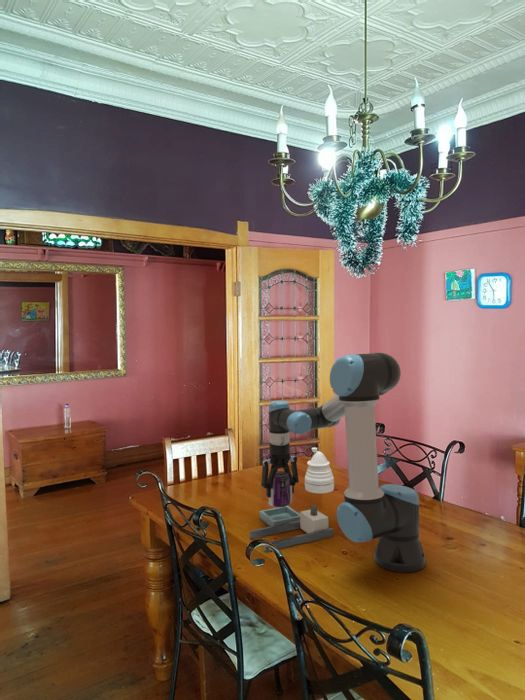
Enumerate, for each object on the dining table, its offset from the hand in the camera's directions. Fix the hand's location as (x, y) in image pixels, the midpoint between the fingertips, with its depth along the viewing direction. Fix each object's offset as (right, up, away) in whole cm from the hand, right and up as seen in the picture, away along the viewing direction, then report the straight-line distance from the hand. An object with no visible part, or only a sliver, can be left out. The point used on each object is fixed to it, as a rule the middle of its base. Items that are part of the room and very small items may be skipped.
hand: (280, 503), depth 191 cm
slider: (+12, -7, -10) cm, 17 cm away
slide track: (+3, -7, -14) cm, 16 cm away
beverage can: (0, -1, 0) cm, 1 cm away
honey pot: (+19, -4, +36) cm, 41 cm away
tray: (0, -7, 0) cm, 7 cm away
